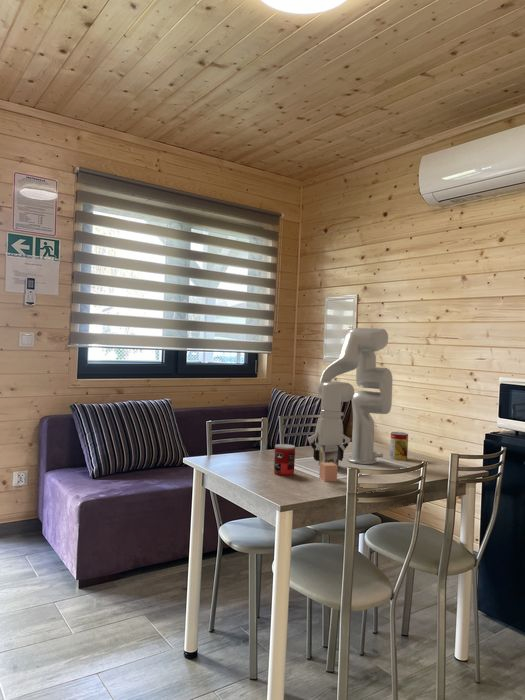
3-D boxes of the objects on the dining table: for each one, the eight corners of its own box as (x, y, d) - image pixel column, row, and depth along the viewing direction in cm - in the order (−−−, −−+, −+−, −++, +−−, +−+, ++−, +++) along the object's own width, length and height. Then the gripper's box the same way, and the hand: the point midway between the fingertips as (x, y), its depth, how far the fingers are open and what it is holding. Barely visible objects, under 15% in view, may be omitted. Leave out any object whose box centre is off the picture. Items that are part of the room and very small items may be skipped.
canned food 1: (272, 471, 209) (273, 443, 209) (292, 471, 210) (293, 444, 210) (274, 475, 202) (276, 447, 202) (295, 476, 202) (296, 447, 202)
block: (331, 477, 203) (332, 462, 203) (336, 481, 198) (337, 465, 198) (319, 478, 201) (320, 462, 201) (324, 481, 196) (325, 465, 196)
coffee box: (338, 469, 217) (340, 430, 217) (323, 469, 216) (325, 430, 216) (332, 464, 226) (334, 427, 226) (318, 464, 225) (319, 426, 225)
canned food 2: (410, 460, 242) (411, 434, 242) (396, 460, 240) (397, 434, 240) (400, 456, 250) (401, 431, 250) (386, 457, 247) (387, 431, 247)
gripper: (346, 414, 205) (344, 458, 205) (305, 413, 200) (303, 458, 200) (355, 416, 198) (353, 462, 198) (313, 415, 193) (310, 462, 193)
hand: (328, 460), depth 199 cm, fingers open, 9 cm apart
